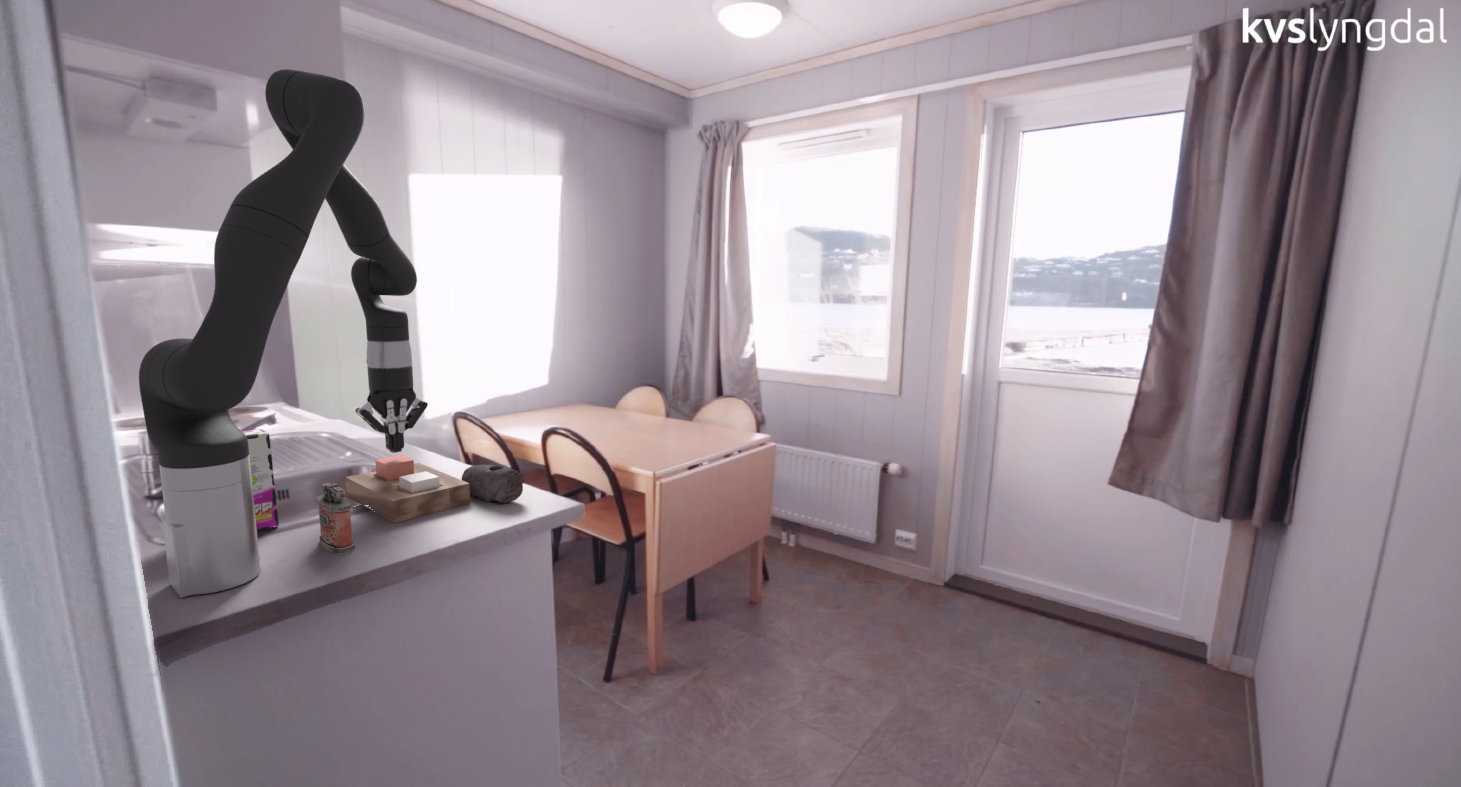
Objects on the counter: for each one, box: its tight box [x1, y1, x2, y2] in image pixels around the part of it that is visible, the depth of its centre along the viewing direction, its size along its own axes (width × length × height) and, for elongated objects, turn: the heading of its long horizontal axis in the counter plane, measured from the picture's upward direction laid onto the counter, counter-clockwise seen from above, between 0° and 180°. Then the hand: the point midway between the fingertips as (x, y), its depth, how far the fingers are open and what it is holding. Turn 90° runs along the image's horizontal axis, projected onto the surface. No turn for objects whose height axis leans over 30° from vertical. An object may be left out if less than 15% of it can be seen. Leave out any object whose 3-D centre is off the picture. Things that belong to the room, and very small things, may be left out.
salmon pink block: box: [375, 455, 415, 481], centre depth 121 cm, size 5×5×4 cm
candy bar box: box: [241, 428, 280, 533], centre depth 99 cm, size 11×5×16 cm, turn 143°
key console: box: [345, 462, 471, 524], centre depth 118 cm, size 14×20×4 cm
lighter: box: [315, 482, 355, 555], centre depth 96 cm, size 8×3×10 cm, turn 53°
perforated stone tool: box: [461, 464, 524, 504], centre depth 120 cm, size 15×5×7 cm, turn 60°
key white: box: [399, 471, 440, 493], centre depth 115 cm, size 5×5×4 cm
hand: (395, 451), depth 120 cm, fingers closed
